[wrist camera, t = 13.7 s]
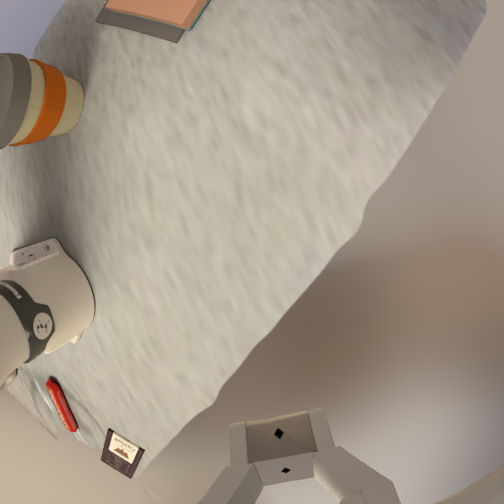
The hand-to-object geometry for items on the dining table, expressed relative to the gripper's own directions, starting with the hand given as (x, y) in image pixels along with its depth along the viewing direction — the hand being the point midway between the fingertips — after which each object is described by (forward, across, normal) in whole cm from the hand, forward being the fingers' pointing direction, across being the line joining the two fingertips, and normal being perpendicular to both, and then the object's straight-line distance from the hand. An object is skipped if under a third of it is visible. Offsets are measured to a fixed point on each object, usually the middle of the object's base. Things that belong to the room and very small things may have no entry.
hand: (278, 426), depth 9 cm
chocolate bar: (+32, +39, +51) cm, 72 cm away
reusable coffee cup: (+39, +24, -19) cm, 50 cm away
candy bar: (+36, +49, +37) cm, 71 cm away
